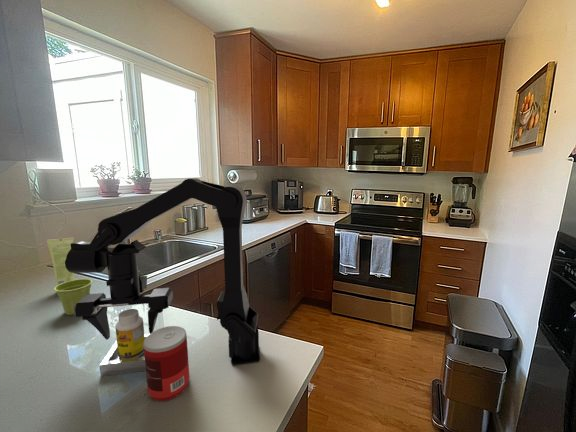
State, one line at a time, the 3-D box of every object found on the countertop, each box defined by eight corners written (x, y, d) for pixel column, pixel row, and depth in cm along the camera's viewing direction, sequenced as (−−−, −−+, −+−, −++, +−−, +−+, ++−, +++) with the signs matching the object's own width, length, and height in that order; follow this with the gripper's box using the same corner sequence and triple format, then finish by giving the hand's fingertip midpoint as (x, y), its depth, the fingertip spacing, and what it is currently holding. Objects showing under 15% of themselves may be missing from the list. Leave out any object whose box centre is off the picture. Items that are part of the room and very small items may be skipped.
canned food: (194, 372, 61) (191, 325, 59) (181, 402, 53) (177, 348, 51) (158, 373, 61) (154, 325, 59) (140, 403, 53) (135, 349, 51)
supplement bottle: (113, 356, 64) (108, 315, 63) (136, 343, 69) (132, 304, 68) (127, 364, 62) (123, 321, 60) (150, 350, 67) (147, 310, 65)
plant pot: (75, 319, 83) (72, 292, 81) (49, 316, 85) (45, 289, 83) (102, 305, 92) (99, 279, 90) (78, 302, 94) (75, 277, 92)
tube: (68, 286, 107) (61, 236, 104) (80, 287, 106) (73, 236, 103) (53, 292, 101) (46, 240, 98) (65, 293, 100) (58, 240, 97)
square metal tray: (166, 341, 72) (166, 332, 71) (155, 369, 62) (155, 358, 61) (119, 346, 70) (118, 337, 69) (100, 376, 60) (99, 365, 59)
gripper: (175, 257, 72) (179, 314, 74) (94, 262, 68) (101, 322, 71) (164, 273, 61) (170, 339, 63) (67, 280, 58) (77, 349, 60)
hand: (130, 336), depth 65 cm, fingers open, 9 cm apart
